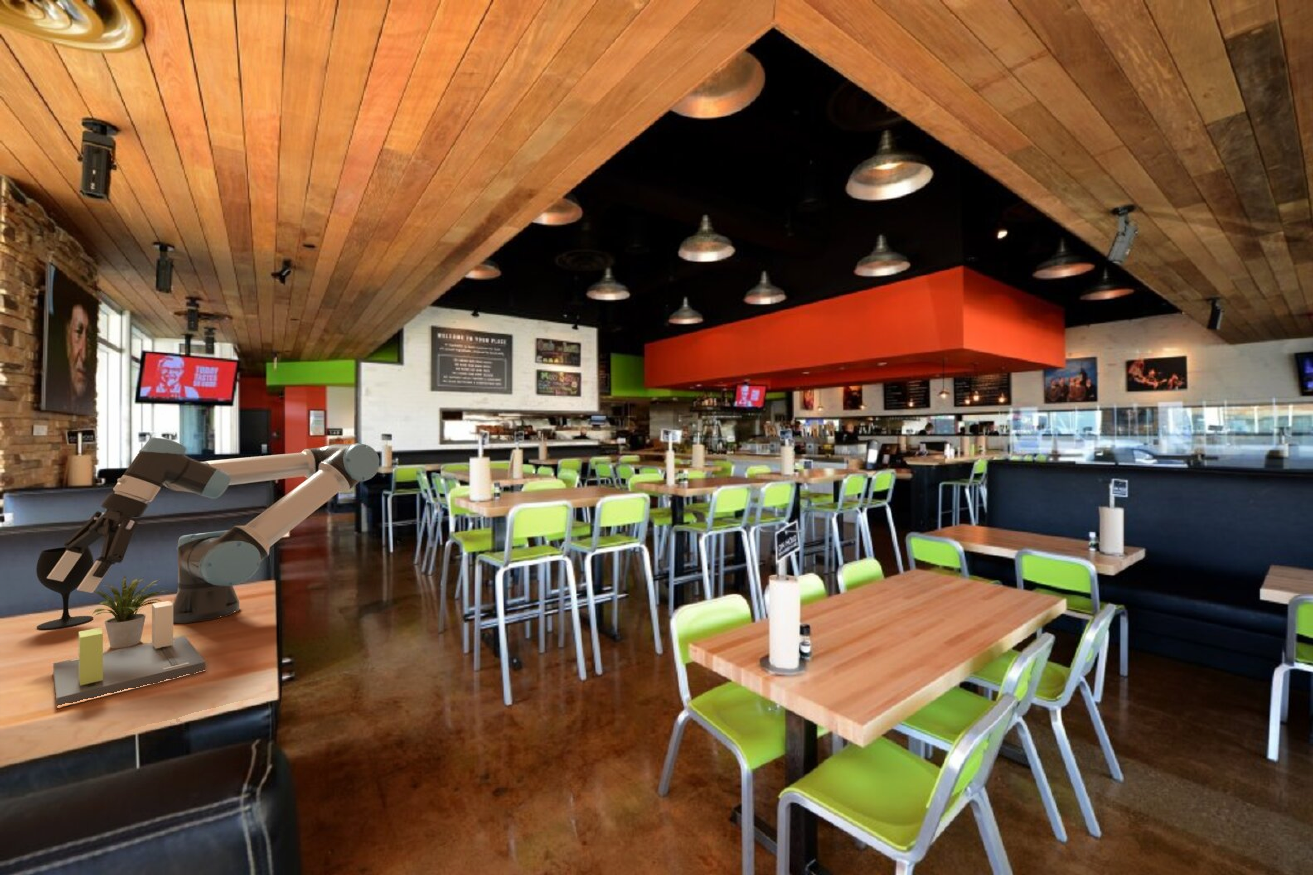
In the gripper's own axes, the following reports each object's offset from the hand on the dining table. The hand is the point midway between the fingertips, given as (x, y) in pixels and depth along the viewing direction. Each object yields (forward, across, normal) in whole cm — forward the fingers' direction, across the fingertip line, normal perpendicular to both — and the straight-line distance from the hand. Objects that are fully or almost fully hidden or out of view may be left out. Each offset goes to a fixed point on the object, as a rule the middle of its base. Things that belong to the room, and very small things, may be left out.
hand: (69, 585), depth 121 cm
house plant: (+10, +2, +16) cm, 19 cm away
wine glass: (+12, -34, +20) cm, 41 cm away
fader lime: (+13, +27, 0) cm, 30 cm away
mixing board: (+12, +23, +8) cm, 27 cm away
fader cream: (+6, +18, +14) cm, 24 cm away
